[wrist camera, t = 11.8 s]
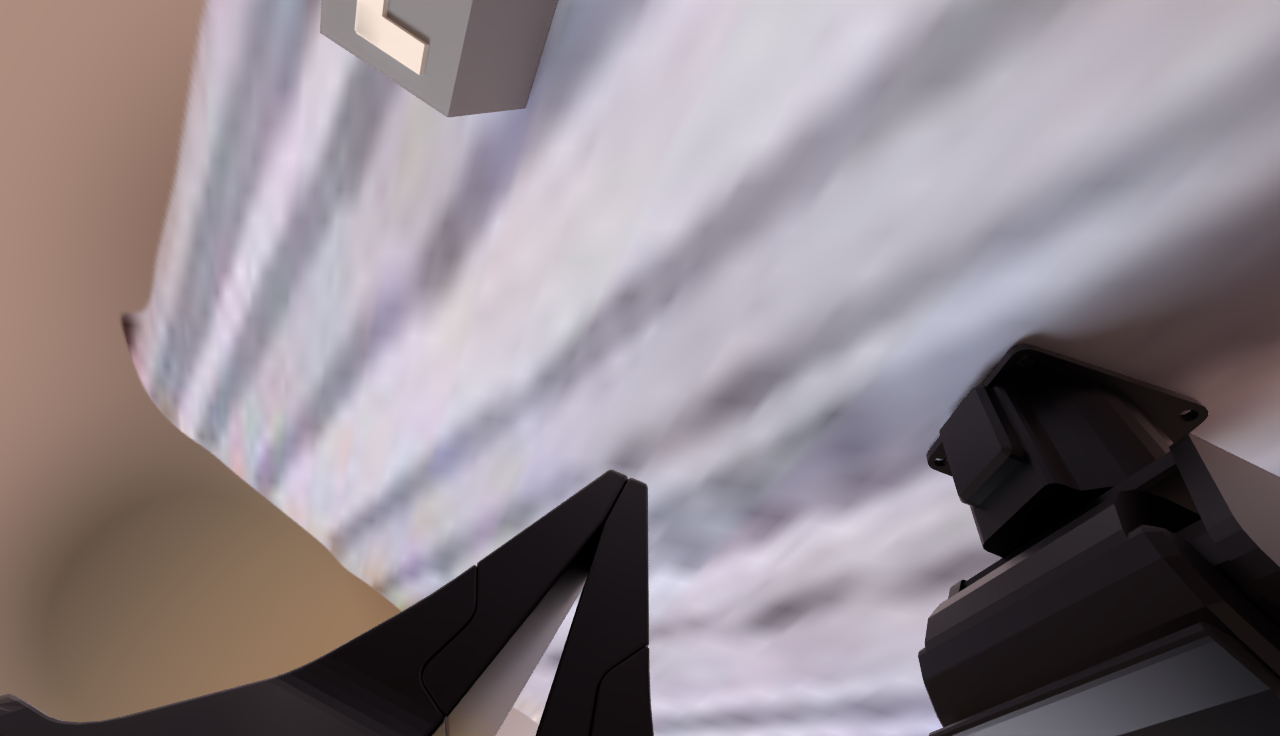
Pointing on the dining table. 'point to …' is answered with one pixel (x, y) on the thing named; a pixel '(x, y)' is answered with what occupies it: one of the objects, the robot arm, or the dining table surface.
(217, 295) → the dining table surface
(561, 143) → the dining table surface
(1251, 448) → the dining table surface
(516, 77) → the slate marked block
